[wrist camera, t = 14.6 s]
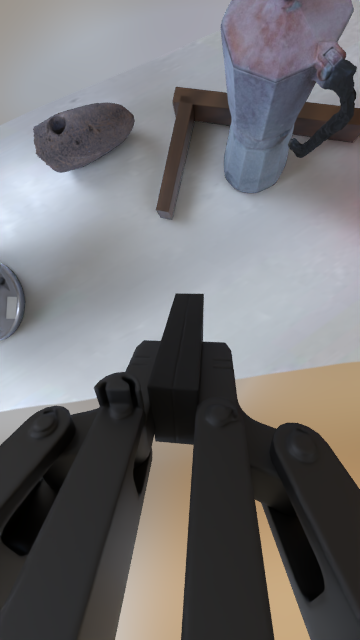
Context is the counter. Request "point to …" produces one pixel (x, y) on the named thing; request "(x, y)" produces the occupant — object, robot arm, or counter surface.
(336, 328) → the counter surface
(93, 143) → the perforated stone tool
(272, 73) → the moka pot
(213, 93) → the corner guide
